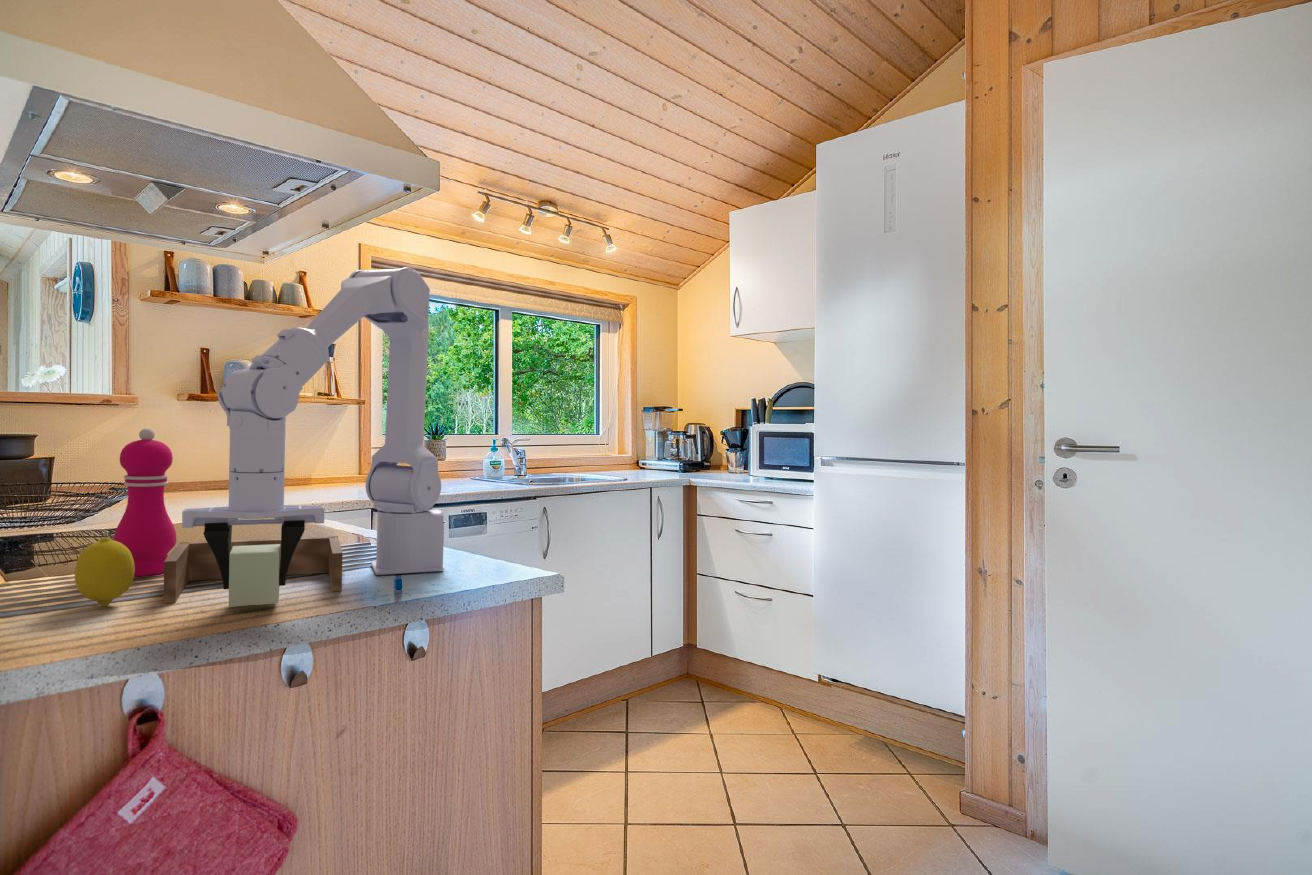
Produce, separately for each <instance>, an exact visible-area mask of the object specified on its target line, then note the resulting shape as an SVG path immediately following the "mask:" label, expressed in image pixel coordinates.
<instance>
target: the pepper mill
mask: <svg viewBox="0 0 1312 875" xmlns="http://www.w3.org/2000/svg"><path fill="white" fill-rule="evenodd" d="M155 436H156V434H155V432H154V430H153V429H151V428H147V427H146V428H143V429H141V430H140V431H139V434H138V438H140V439H138V440H134V441H131V442H129V443H127V444H126V445H125V446H124V447H123V448H122V449H121V452H120V454H119V464H120V466H121V467H122V468H123V469H124V471H125V472H126V474H125V475H124V476H123V479H124V482H123V485H124V486H126V487H127V504H126V508H125V509H124V513H123V515H122V517H121V519H120V521H119V522H118V525H117V526H116V529H115V531H114V533H113V539H112V540H113V541H117V542H120V543H122V544H123V545H125V546H126V547H127V548H128V549H129V550H130V552H131V554H132V556H133V560H134V565H135V573H134V578H135V577H149V576H157V575H163V574H164V561H165V560H166V559H167V557H168V556H169V552H170V551H171V550H172V549H173V548H174V547H176V544H177V540H178V539H177V532H176V528H175V526H174V523H173V522H172V520H171V517H170V516H169V514H168V512H167V511H168V510H167V509H166V504H165V495H164V494H165V486H167V485H168V484H169V481H168V478H169V475H168V474H165V473H167V470H168V469H169V468H171V466H172V465H173V459H174V458H173V457H174V456H173V452H172V449H171V448H170V447H169V446H168V445H167V444H165V442H162V441H159V440H155V439H154V438H155Z"/></svg>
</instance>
